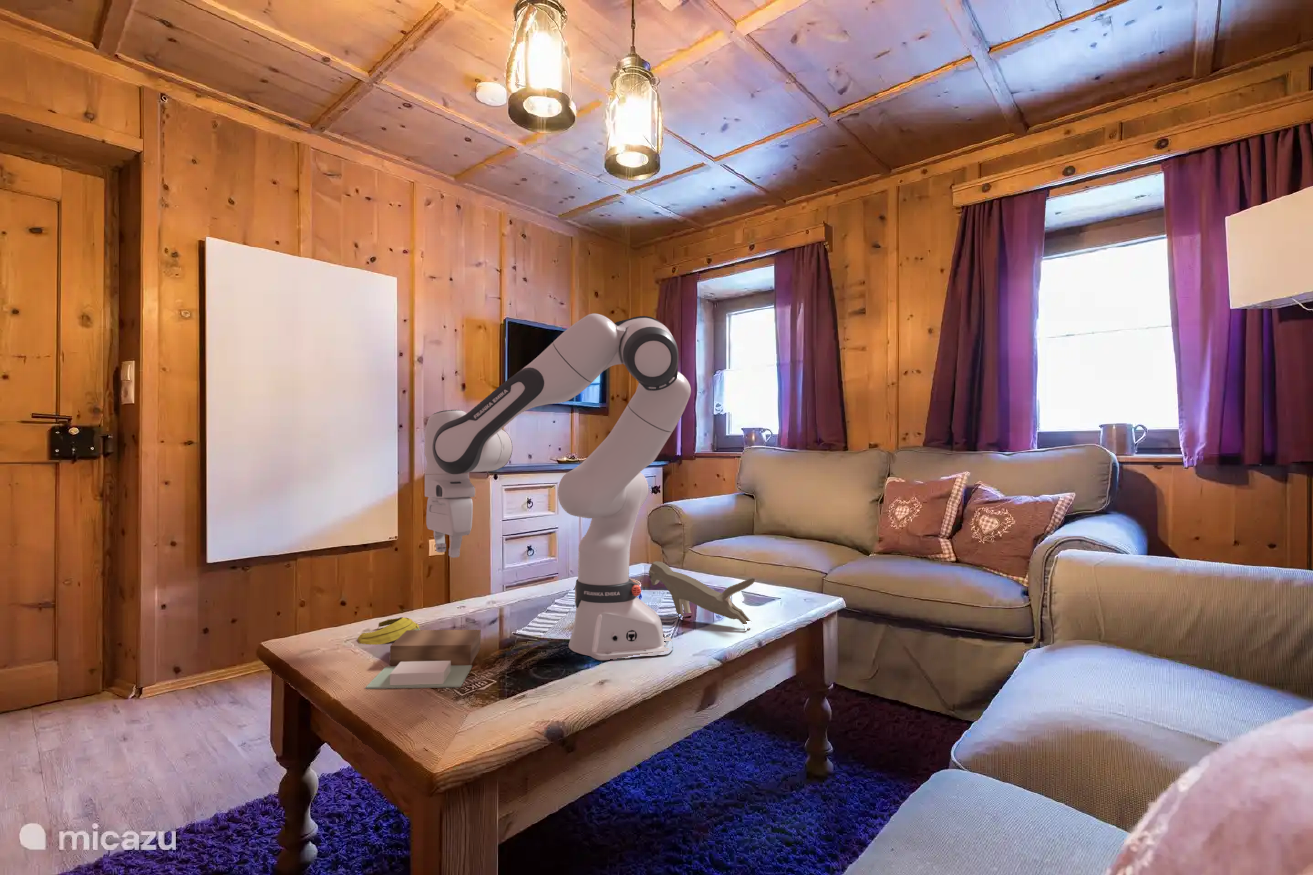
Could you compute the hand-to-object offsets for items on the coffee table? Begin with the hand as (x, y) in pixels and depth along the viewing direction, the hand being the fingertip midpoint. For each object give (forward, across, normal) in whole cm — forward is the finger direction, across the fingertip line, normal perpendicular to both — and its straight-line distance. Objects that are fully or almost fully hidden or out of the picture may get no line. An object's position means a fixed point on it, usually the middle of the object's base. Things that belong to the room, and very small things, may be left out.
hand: (447, 554), depth 123 cm
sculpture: (+22, +10, +59) cm, 64 cm away
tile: (+18, +13, -8) cm, 24 cm away
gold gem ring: (+20, -17, -7) cm, 27 cm away
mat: (+20, +12, -8) cm, 25 cm away
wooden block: (+20, +2, -3) cm, 20 cm away
